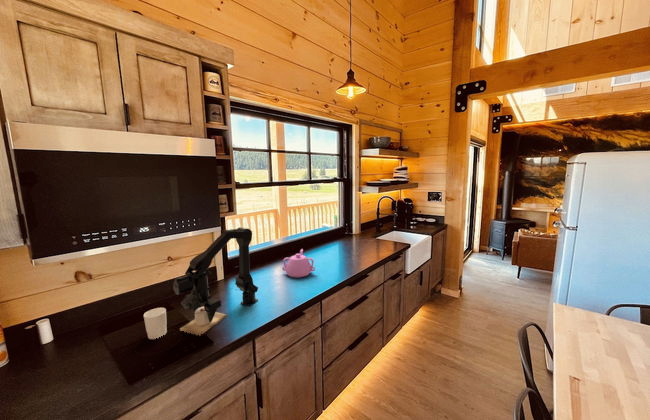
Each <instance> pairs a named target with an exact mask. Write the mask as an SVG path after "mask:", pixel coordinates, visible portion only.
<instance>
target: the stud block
mask: <svg viewBox="0 0 650 420" xmlns="http://www.w3.org/2000/svg"><path fill="white" fill-rule="evenodd" d="M226 317H227V314H226V313H221V312H217V311H216V312H215V315H214V317H213V320H212V321H211V322H210V323H208V324H206V325H197V324H195V318H194V319H193V320H191V321H189V322H188V323H186V324H185V325H183V326H181V327H180V328H179V331H180V332H182V331H184V332H183V333H186V332H187V334H190V333H191V335H194V334H195V336H198V335H199V337H200V336H202V335H203V334H205V333H206V332H207V331H209V330H210V329H211V328H213V327H214V326H215V325H217V324H218V323H219V322H221V321H222V320H224V318H226ZM201 334H202V335H201Z"/></svg>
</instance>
